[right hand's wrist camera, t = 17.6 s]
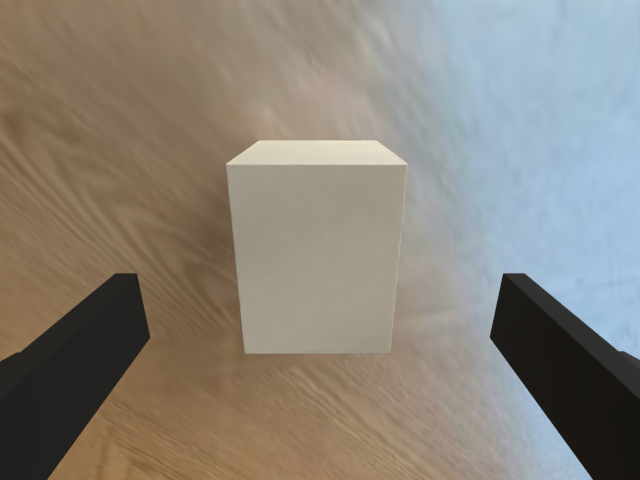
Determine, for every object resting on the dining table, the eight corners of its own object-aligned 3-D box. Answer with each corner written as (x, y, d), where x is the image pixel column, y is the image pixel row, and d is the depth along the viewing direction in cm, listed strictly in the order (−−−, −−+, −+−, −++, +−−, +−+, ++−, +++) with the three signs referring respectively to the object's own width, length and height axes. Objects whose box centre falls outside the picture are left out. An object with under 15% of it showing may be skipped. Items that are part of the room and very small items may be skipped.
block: (258, 140, 20) (225, 163, 13) (377, 140, 20) (407, 163, 13) (267, 276, 24) (244, 354, 16) (369, 276, 24) (390, 354, 16)
